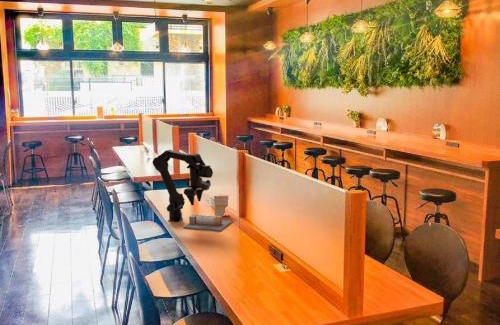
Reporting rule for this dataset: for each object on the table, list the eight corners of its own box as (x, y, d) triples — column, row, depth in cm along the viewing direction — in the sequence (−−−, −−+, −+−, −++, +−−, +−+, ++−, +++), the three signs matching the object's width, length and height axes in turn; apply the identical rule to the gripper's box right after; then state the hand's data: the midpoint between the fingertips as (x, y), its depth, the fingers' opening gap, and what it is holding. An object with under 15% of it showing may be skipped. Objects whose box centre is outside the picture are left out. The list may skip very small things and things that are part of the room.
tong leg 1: (196, 223, 279) (196, 216, 279) (197, 222, 280) (197, 216, 280) (219, 225, 275) (219, 218, 274) (220, 224, 276) (220, 217, 275)
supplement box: (229, 214, 301) (228, 193, 298) (228, 217, 296) (227, 195, 294) (215, 214, 301) (215, 193, 299) (214, 216, 297) (213, 195, 294)
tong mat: (183, 228, 274) (183, 219, 273) (197, 219, 292) (197, 211, 291) (220, 231, 267) (220, 222, 266) (232, 222, 285) (232, 213, 284)
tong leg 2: (198, 222, 282) (198, 215, 281) (199, 221, 283) (199, 214, 283) (221, 223, 278) (221, 216, 277) (222, 223, 279) (221, 216, 278)
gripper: (201, 180, 267) (202, 208, 270) (214, 173, 285) (215, 200, 288) (182, 179, 271) (183, 207, 274) (197, 173, 288) (197, 199, 291)
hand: (196, 203), depth 281 cm, fingers open, 9 cm apart
